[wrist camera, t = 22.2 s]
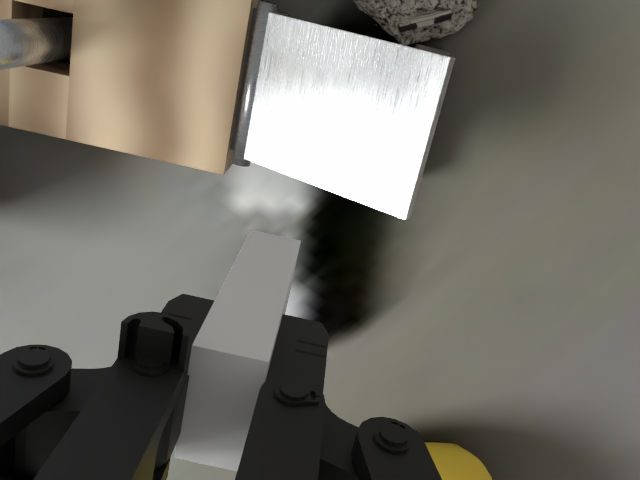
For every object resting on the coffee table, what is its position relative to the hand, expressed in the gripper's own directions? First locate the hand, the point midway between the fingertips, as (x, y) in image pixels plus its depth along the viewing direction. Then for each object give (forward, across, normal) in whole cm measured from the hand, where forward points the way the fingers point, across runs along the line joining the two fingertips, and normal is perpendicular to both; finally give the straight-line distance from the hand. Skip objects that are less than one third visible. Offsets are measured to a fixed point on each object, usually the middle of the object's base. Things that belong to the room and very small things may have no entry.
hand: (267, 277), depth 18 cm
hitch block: (+26, -8, +2) cm, 28 cm away
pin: (+26, -18, +2) cm, 32 cm away
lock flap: (+22, -4, +2) cm, 23 cm away
